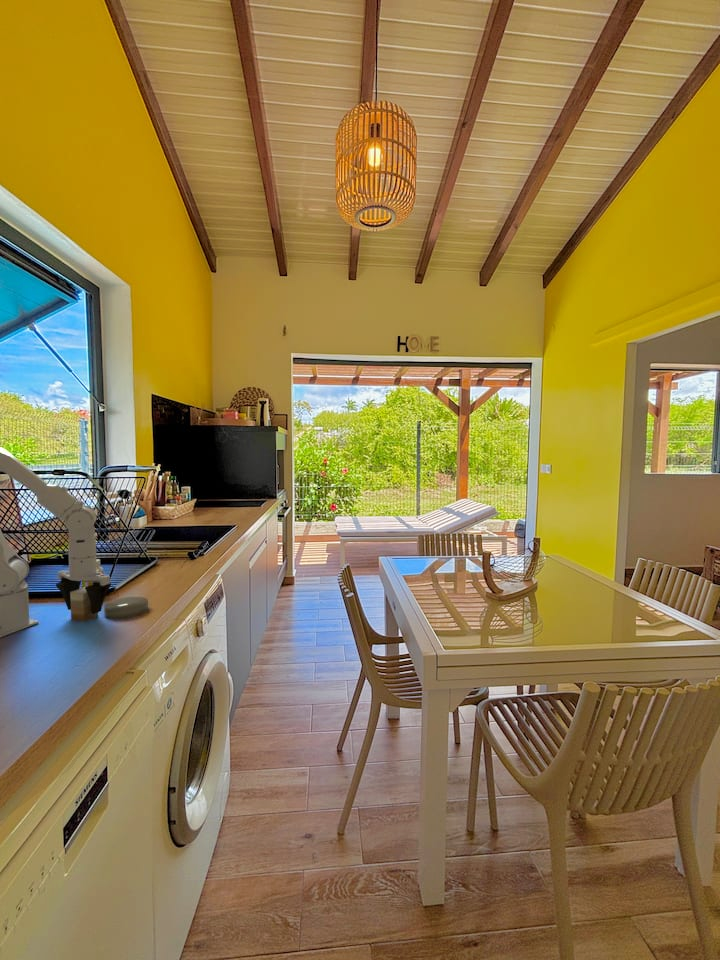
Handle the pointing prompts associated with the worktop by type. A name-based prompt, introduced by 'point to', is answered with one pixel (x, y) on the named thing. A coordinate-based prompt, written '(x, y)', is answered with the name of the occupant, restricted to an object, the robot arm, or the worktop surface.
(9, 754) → the worktop surface
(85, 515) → the robot arm
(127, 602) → the stand
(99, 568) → the supplement bottle
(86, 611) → the block
